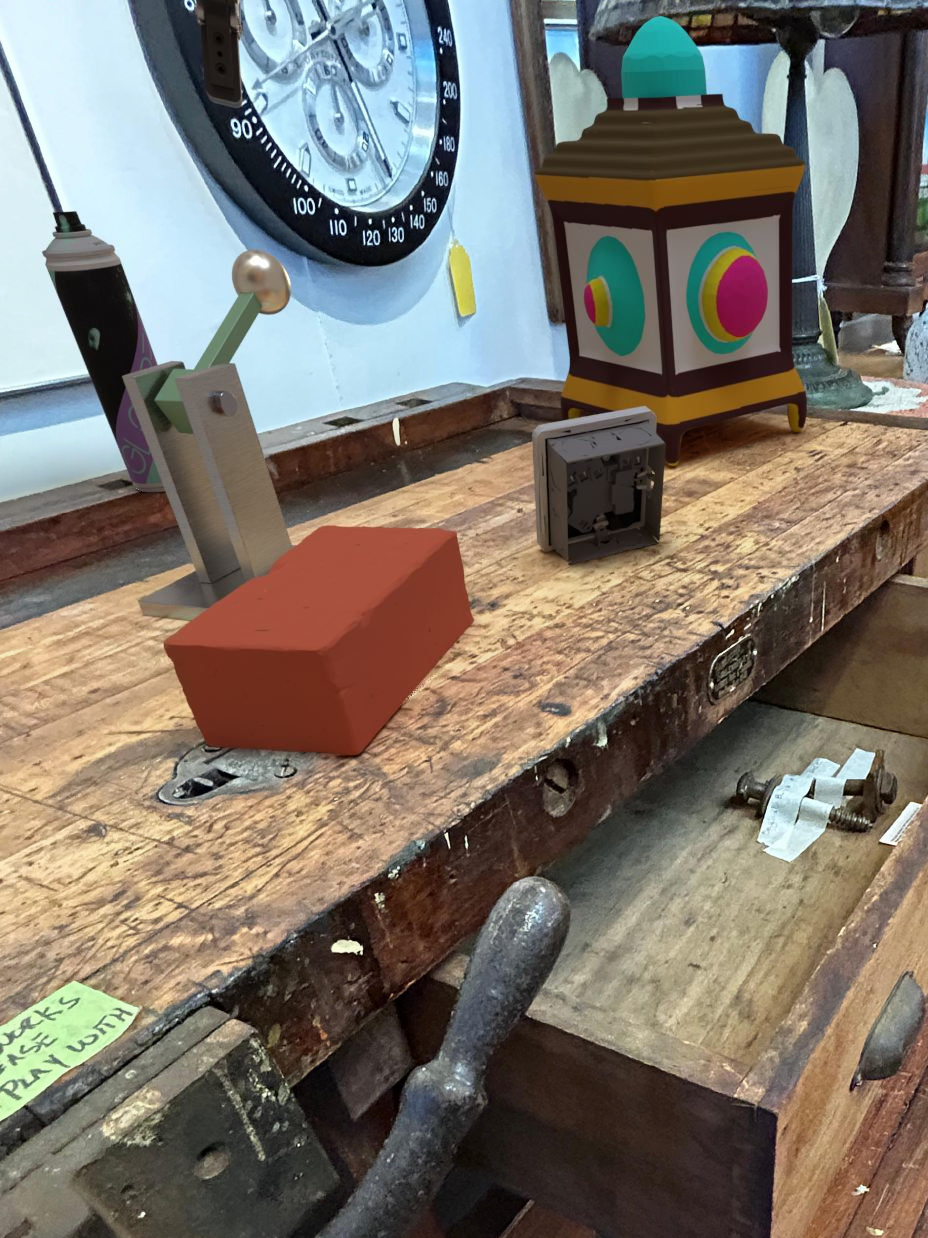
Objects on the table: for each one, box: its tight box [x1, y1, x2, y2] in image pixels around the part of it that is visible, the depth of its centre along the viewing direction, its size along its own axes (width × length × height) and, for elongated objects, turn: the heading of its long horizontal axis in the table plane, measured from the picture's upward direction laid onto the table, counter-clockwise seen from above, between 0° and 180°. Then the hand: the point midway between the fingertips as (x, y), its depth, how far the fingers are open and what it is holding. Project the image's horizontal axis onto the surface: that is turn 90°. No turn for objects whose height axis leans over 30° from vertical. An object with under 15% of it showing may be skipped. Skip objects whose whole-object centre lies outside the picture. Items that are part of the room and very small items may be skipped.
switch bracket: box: [122, 360, 297, 622], centre depth 68 cm, size 12×9×14 cm
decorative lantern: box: [534, 15, 808, 467], centre depth 91 cm, size 20×20×30 cm
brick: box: [163, 524, 475, 757], centre depth 59 cm, size 18×9×6 cm, turn 171°
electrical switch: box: [531, 406, 666, 565], centre depth 74 cm, size 9×5×9 cm, turn 122°
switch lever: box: [154, 249, 292, 434], centre depth 67 cm, size 14×4×4 cm, turn 163°
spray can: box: [41, 210, 166, 493], centre depth 87 cm, size 6×6×20 cm
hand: (224, 101), depth 70 cm, fingers closed
